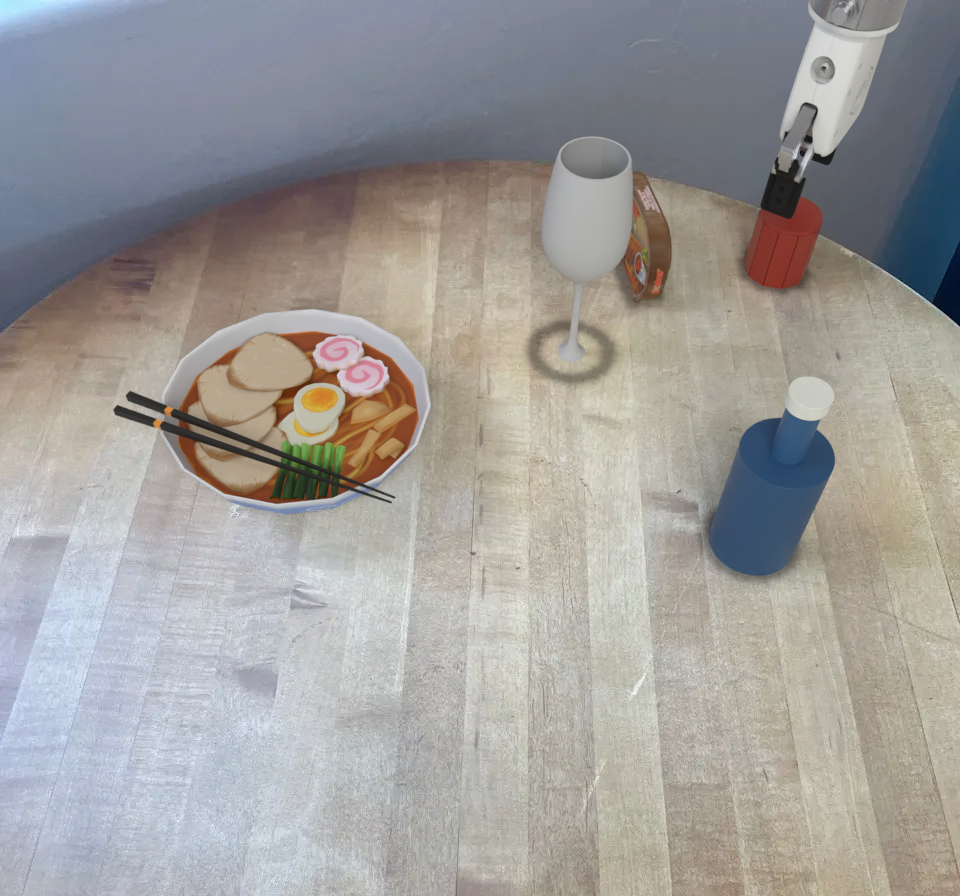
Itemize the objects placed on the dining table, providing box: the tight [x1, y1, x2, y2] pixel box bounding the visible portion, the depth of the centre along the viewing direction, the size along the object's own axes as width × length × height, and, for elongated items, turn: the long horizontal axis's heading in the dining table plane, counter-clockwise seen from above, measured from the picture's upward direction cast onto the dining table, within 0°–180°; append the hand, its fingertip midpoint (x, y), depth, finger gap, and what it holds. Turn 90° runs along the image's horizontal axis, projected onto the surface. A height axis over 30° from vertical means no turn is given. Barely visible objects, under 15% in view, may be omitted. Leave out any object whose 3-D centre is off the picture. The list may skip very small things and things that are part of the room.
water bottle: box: [708, 375, 836, 577], centre depth 78 cm, size 7×7×18 cm
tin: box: [620, 170, 673, 302], centre depth 101 cm, size 15×3×8 cm, turn 10°
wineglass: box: [540, 136, 633, 363], centre depth 88 cm, size 8×8×21 cm
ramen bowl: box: [112, 308, 432, 515], centre depth 86 cm, size 25×23×8 cm
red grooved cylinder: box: [743, 196, 824, 290], centre depth 101 cm, size 6×6×7 cm
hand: (795, 185), depth 95 cm, fingers open, 9 cm apart
